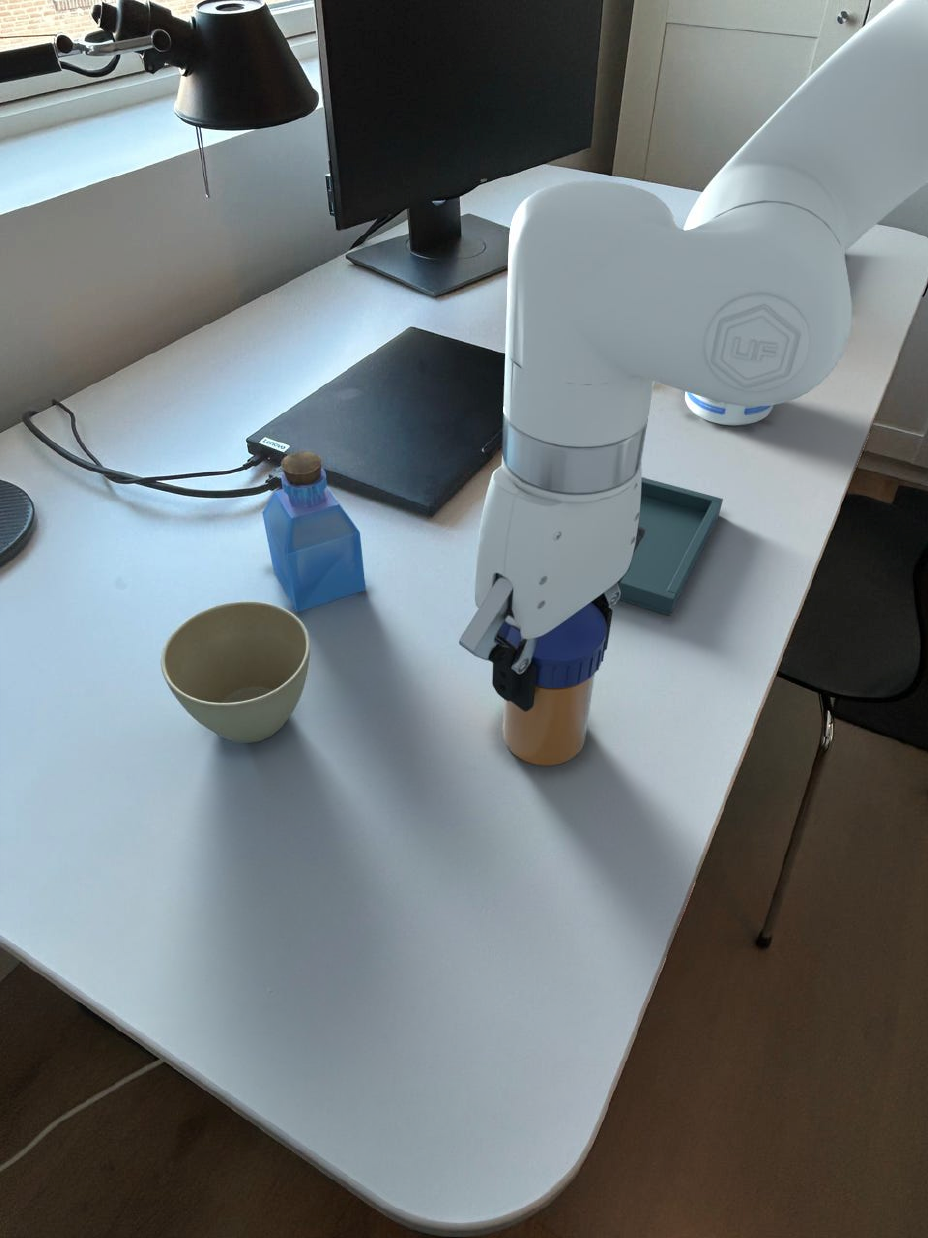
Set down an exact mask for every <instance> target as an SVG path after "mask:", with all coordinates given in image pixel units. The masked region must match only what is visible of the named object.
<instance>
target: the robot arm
mask: <svg viewBox="0 0 928 1238" xmlns="http://www.w3.org/2000/svg"><path fill="white" fill-rule="evenodd" d="M926 184H928V0H893V1H891V2H890V3H889V4H887V6H885V7H884V8H883V9H881V10H880V12H878V13H877V14H875V16H874V17H873V18H871V19H870V20H869V21H868V22H866V23H865V25H863V26H862V27H861V28H859V30H858V31H856V32H855V34H853V35H852V36H850V37H849V39H847V41H846V42H845V43H843V44H842V45H841V46H840V47H839V48H838V49H837V50H836V51H835V52H834V53H832V54H831V55H830V56H829V57H828V58H827V59H826V60H825V61H824V62H823V63H822V64H821V65H820V66H819V67H818V68H817V69H815V71H814V72H813V73H812V74H811V75H810V76H809V77H808V78H807V79H806V80H804V82H803V83H802V84H801V85H800V86H799V87H798V88H797V89H796V90H795V91H794V92H793V94H791V95H790V96H789V97H788V99H786V101H784V103H783V104H782V105H780V106H779V107H778V109H777V110H776V111H775V112H773V114H772V115H771V116H770V117H769V118H768V119H767V120H766V121H765V122H764V123H763V125H761V126H760V128H758V130H757V131H756V132H755V133H754V134H753V135H752V136H751V137H750V138H749V139H748V140H747V141H746V142H745V143H744V144H743V146H741V147H740V149H739V150H738V151H736V153H735V154H734V155H733V156H731V158H730V159H729V160H728V161H727V162H726V164H725V165H724V166H723V167H722V168H721V169H720V170H719V171H718V173H717V174H716V175H715V176H714V177H713V178H712V179H711V180H710V181H709V183H708V184H707V185H706V187H705V188H704V190H703V191H702V192H701V194H700V195H699V197H698V198H697V200H696V202H695V204H694V205H693V207H692V208H691V211H690V212H689V215H688V216H687V219H686V222H685V224H684V227H683V229H682V228H681V227H679V226H678V225H677V223H676V221H675V218H674V215H673V213H672V211H671V210H670V207H668V205H667V204H666V203H665V202H664V201H663V200H662V199H661V198H660V197H658V196H657V195H655V194H654V193H651V192H650V191H648V190H645V189H642V188H640V187H636V186H634V185H629V184H627V183H621V182H615V181H608V180H607V181H606V180H573V181H564V182H561V183H557V184H552V185H548V186H545V187H543V188H540V189H538V190H536V191H534V192H532V193H531V194H530V195H529V196H527V197H526V198H525V199H524V200H523V201H522V202H521V203H520V205H519V206H518V208H517V209H516V211H515V213H514V215H513V217H512V221H511V225H510V230H509V239H508V241H509V242H508V259H507V260H508V263H507V288H506V289H507V291H506V293H507V295H506V299H507V300H506V322H505V323H506V324H505V326H506V328H505V356H504V357H505V358H504V381H503V382H504V385H503V413H502V442H501V465H500V466H498V467H497V468H496V469H495V470H494V471H493V472H492V474H491V477H490V481H489V484H488V487H487V491H486V496H485V500H484V505H483V509H482V513H481V519H480V525H479V532H478V539H477V548H476V559H475V569H474V570H475V572H474V602H475V606H476V608H477V610H476V611H475V614H474V615H473V617H472V619H471V620H470V622H469V624H468V625H467V626H466V628H465V630H464V631H463V633H462V634H461V635H460V638H459V641H458V644H459V645H460V646H461V647H462V648H463V649H464V650H466V651H468V652H469V653H471V654H472V655H473V656H474V657H476V658H479V659H481V660H485V661H488V662H491V663H492V678H491V679H492V680H491V682H492V687H493V689H494V690H495V692H496V693H497V695H498V696H499V697H500V698H501V699H503V700H504V699H505V700H506V701H511V702H513V703H514V704H515V705H517V706H518V707H519V708H520V709H522V710H523V711H525V712H527V711H528V710H530V709H531V708H532V707H533V704H534V696H535V684H536V672H537V668H536V666H535V664H534V663H532V662H531V660H532V657H533V655H534V652H535V650H536V647H537V645H538V642H539V640H540V637H541V636H542V635H544V634H546V633H548V632H549V631H551V630H552V629H554V628H555V627H557V626H558V625H559V624H561V623H562V622H564V621H565V620H567V619H568V618H569V617H571V616H572V615H573V614H575V613H576V612H578V611H579V610H580V609H582V608H583V607H585V606H586V605H587V604H589V603H590V602H591V603H593V604H594V605H595V606H596V607H597V608H598V609H599V610H600V612H601V613H602V615H603V616H604V619H605V621H606V626H607V636H606V645H605V651H607V649H608V646H609V645H608V644H609V638H610V631H611V625H612V621H613V620H612V619H613V613H614V609H613V608H612V607H613V606H615V605H616V604H617V603H618V601H620V600H619V598H620V595H621V591H620V588H619V584H620V582H621V580H622V579H623V577H624V576H625V574H626V572H628V571H629V569H630V568H629V567H630V566H631V560H632V557H633V555H634V553H635V551H636V550H637V548H638V546H639V545H640V543H641V541H642V540H643V538H644V536H645V533H646V530H645V529H643V528H642V527H640V526H638V522H639V513H640V501H641V481H642V477H643V475H642V472H643V471H642V469H643V468H642V458H643V454H644V447H645V442H646V441H645V440H646V434H647V430H648V429H647V428H648V421H649V416H650V410H651V402H652V398H653V391H654V386H655V382H656V383H659V384H663V385H666V386H668V387H671V388H674V389H677V390H680V391H684V392H685V393H686V392H689V393H692V394H695V395H698V396H702V397H705V398H708V399H712V400H715V401H719V402H724V403H728V404H734V405H742V406H770V405H773V406H774V405H780V404H784V403H788V402H790V401H793V400H796V399H798V398H800V397H802V396H804V395H806V394H808V393H809V392H811V391H813V389H815V388H816V387H818V386H819V385H820V384H822V383H823V381H825V380H826V379H827V378H828V376H829V375H830V374H831V373H832V372H833V370H834V369H835V368H836V366H837V365H838V363H839V361H840V360H841V358H842V356H843V355H844V352H845V350H846V346H847V344H848V341H849V338H850V334H851V329H852V328H851V327H852V320H853V319H852V317H853V301H852V295H851V294H852V293H851V287H850V281H849V275H848V269H847V261H846V255H845V252H847V251H848V250H849V249H850V248H851V247H852V246H854V244H856V243H857V242H858V241H859V240H860V239H861V238H862V237H864V235H866V234H867V233H868V232H869V231H870V230H871V229H873V228H874V227H875V226H876V225H877V224H878V223H880V221H882V220H883V219H884V218H886V217H887V216H888V215H889V214H890V213H891V212H892V211H894V210H895V209H896V208H898V207H899V205H901V204H902V203H904V202H905V201H906V200H907V199H909V198H910V197H911V196H912V195H914V193H916V192H917V191H918V190H920V189H921V188H922V187H924V186H925V185H926ZM511 626H512V627H514V628H515V629H516V630H518V631H519V632H521V637H522V638H521V641H520V643H519V646H518V647H516V646H515V645H513V644H512V643H511V642H509V641H507V640H506V639H507V636H508V634H509V631H510V628H511Z"/></svg>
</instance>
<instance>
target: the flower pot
mask: <svg viewBox="0 0 928 1238" xmlns="http://www.w3.org/2000/svg"><path fill="white" fill-rule="evenodd" d="M310 654H311V640H310V635H309V633H308V630H307V627H306V626H305V625H304V623H303V622H302V621H301V619H300V618H299V617H297V616H296V615H295V614H293V613H292V612H291V611H289V610H288V609H286V608H284V607H282V606H279V605H277V604H273V603H268V602H264V601H257V600H254V601H253V600H251V601H250V600H242V601H241V600H239V601H231V602H226V603H222V604H218V605H215V606H212V607H209V608H207V609H206V608H205V609H204V610H201V611H199V612H197V613H195V614H194V615H192V616H190V617H189V618H188V619H186V620H185V621H183V622H182V623H181V624H179V626H177V627H176V628H175V630H174V631H173V632H172V633H171V634H170V635H169V637H168V639H167V640H166V642H165V643H164V646H163V648H162V652H161V656H160V668H161V673H162V676H163V678H164V680H165V683H166V684H167V686H168V688H169V689H170V691H171V693H172V694H173V696H174V697H175V699H176V700H177V701H178V702H179V704H180V705H181V706H182V707H183V709H184V710H185V711H186V712H187V713H188V714H189V715H190V716H191V717H192V718H193V719H194V720H196V721H197V722H198V723H199V724H200V725H201V726H203V727H204V728H206V729H207V730H208V731H210V732H212V733H214V734H215V735H217V736H220V737H222V738H224V739H226V740H229V741H232V742H235V743H239V744H251V743H258V742H261V741H264V740H266V739H268V738H270V737H272V736H274V735H275V734H276V733H277V732H278V731H279V730H280V729H281V728H282V727H283V726H284V725H285V724H286V723H287V721H288V719H289V718H290V717H291V715H292V714H293V712H294V711H295V709H296V707H297V705H298V703H299V701H300V698H301V697H302V693H303V691H304V687H305V685H306V681H307V678H308V672H309V667H310V656H311V655H310Z"/></svg>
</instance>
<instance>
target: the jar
mask: <svg viewBox="0 0 928 1238" xmlns="http://www.w3.org/2000/svg"><path fill="white" fill-rule="evenodd" d="M595 677H596V673H595V674H594V675H593V676H592V677H591V678H589V679H588V680H586V681H584V682H582V683H580V684H578V685H575V686H571V687H566V688H545V687H540V686H536V685H535V696H534V704H533V707H532V708H531V709H530V710H528V711H527V712H525V711H523V710H522V709H520V708H519V707H518V706H517V705H515V704H514V703H513V702H511V701H506V700H505V699H503V717H502V737H503V740H504V743H505V745H506V747H507V748H508V750H509V751H510V752H511V753H512V754H513V755H515V756H516V757H517V758H519V759H520V760H522V761H524V762H526V763H529V764H532V765H536V766H543V767H544V766H546V767H549V766H557V765H562V764H564V763H566V762H569V761H570V760H571V759H574V757H576V756H577V755H578V754H579V753H580V752H581V750H582V749H583V747H584V745H585V741H586V735H587V729H588V723H589V715H590V709H591V702H592V698H593V697H592V696H593V689H594V682H595Z"/></svg>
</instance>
